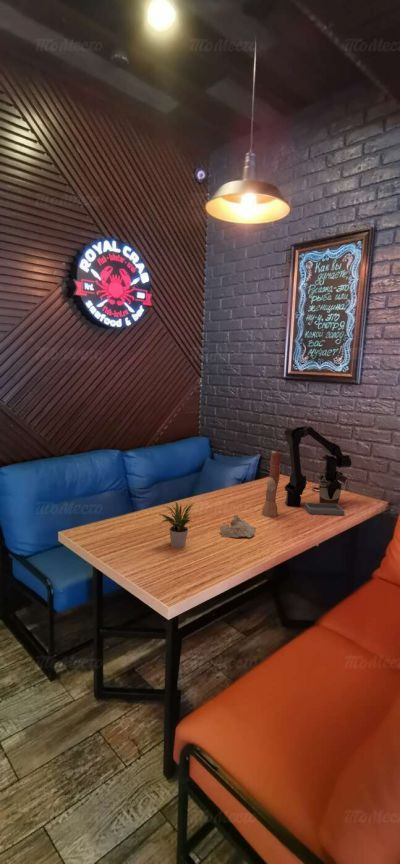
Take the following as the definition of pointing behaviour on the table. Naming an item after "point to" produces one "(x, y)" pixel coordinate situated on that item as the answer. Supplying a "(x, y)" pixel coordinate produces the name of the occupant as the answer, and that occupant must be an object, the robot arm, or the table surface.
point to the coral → (237, 529)
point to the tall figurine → (272, 486)
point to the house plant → (178, 525)
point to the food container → (325, 497)
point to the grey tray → (323, 509)
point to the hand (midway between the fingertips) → (328, 497)
